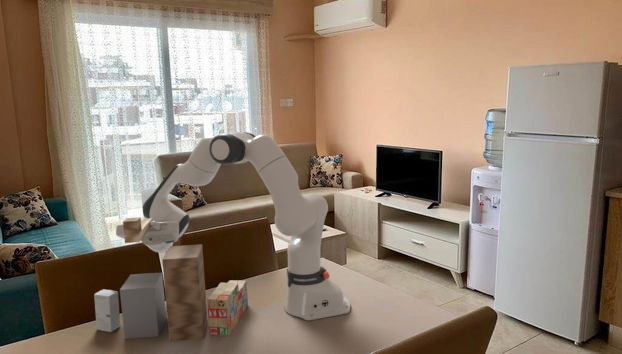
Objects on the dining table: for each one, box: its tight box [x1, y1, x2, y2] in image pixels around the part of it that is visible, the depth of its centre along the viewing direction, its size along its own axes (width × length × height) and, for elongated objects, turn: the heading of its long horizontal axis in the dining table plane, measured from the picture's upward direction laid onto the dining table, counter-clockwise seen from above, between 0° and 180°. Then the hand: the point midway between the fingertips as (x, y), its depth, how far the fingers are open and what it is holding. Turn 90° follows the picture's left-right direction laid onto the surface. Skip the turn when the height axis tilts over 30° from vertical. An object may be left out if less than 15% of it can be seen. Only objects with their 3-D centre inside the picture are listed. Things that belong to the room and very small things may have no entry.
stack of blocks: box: [206, 279, 249, 337], centre depth 146 cm, size 21×6×12 cm, turn 172°
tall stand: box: [162, 244, 208, 343], centre depth 138 cm, size 10×12×26 cm
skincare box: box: [93, 288, 121, 333], centre depth 142 cm, size 6×4×12 cm
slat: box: [122, 216, 152, 244], centre depth 139 cm, size 4×18×6 cm, turn 7°
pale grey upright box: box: [119, 271, 167, 340], centre depth 141 cm, size 10×12×16 cm
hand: (143, 224), depth 144 cm, fingers closed on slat, 4 cm apart
